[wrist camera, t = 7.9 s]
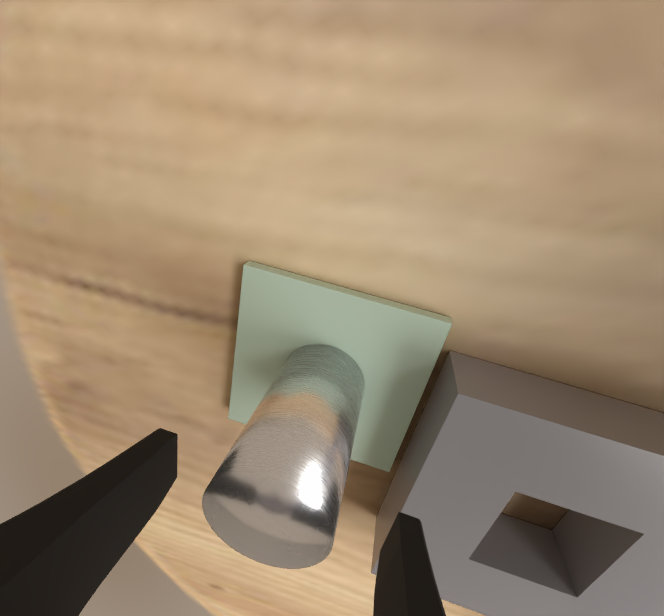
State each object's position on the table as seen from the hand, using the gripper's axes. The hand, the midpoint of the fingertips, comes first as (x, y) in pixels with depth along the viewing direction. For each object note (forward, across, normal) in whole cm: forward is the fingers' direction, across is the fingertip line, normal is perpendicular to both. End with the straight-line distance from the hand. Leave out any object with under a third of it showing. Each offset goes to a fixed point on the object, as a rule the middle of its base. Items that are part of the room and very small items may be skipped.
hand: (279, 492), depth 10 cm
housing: (+7, -11, +3) cm, 13 cm away
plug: (+6, 0, 0) cm, 6 cm away
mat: (+7, 0, 0) cm, 7 cm away
